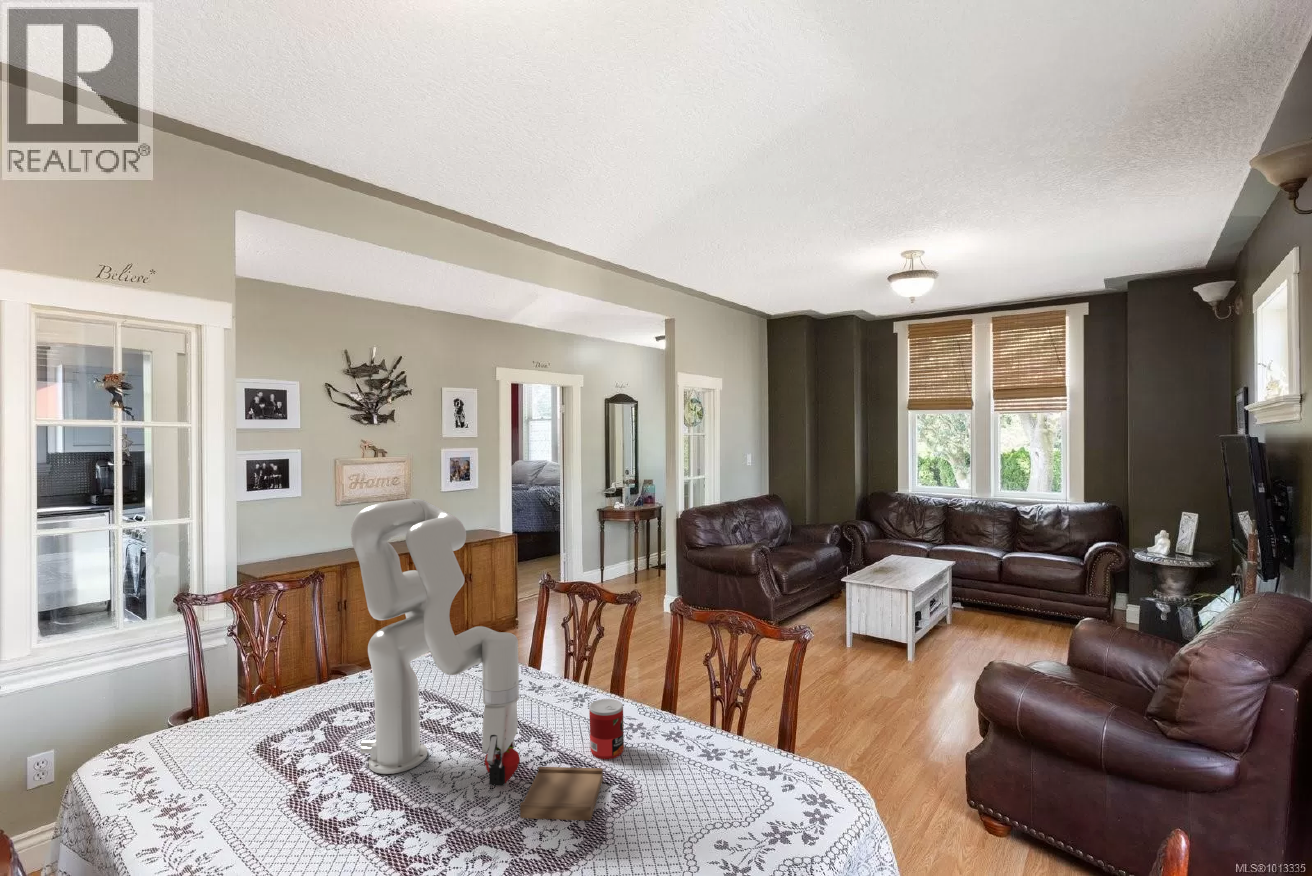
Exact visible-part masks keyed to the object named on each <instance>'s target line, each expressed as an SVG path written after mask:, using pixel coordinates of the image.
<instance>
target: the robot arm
mask: <svg viewBox="0 0 1312 876" xmlns="http://www.w3.org/2000/svg"><path fill="white" fill-rule="evenodd" d="M400 537H405V544H406V547H407V550H408V552H409V554H410V556H411V560H412V562H413V564H414V567H415V569H416V570H415V569H414V570H410V569H409V570H406V571H403V570H402V567H401V566H402V565H401V559H400V556H399V554H398V552H397V551H396V549H395V547H393V545H392V544H391V543H389V540H391V539H396V538H400ZM466 539H467V530H466V528H465V526H464V524H463V523H462V522H461V520H459V519H458V518H457V517H456V516H455V515H453V514H451V513H449V512H448V511H446V510H444V509H442V508H441V507H439V506H436V505H434V504H432V503H431V502H429V501H427V500H424V499H422V498H421V499H420V498H405V499H400V500H393V501H384V502H379V503H376V504H371V505H369V506H367V507H364V508H363V509H361V510H360V511H359V512H358V513H357V514H356V515H355V517H354V519H353V521H352V523H351V527H350V540H351V544H352V546H353V549H354V551H355V555H356V556H357V557H356V558H357V560H358V563H359V568H360V573H361V579H362V580H361V581H362V585H363V590H364V595H365V600H366V605H367V610H368V613H369V614H370V616H371V617H372V618H373V619H374V620H377V621H386V620H391V619H394V618H396V617H399V616H402V615H405V619H403V620H399V621H397V622H394V623H391V624H388V625H386V626H384V627H382V628H381V629H378V630H377V631H376V632H375V633H373V635H372V636H371V638H370V639H369V641H368V645H367V655H368V659H369V663H370V667H371V670H372V671H371V672H372V681H373V697H374V699H373V700H374V701H373V702H374V726H375V727H374V732H375V739H362V741H361V742H360V743H361V744H360V754H370V755H371V756H370V757H369V759H368V768H369V769H370V771H372V772H374V773H376V774H382V775H390V774H391V775H392V774H397V773H398V774H399V773H403V772H407V771H409V770H411V769H413V768H416V767H417V766H419V765H420V764H421V763H423V762H424V761H425V760H426V758H427V756H428V748H427V746H426V745H425V744H424V743H421V727H420V698H419V697H420V696H419V693H420V689H419V679H418V676H417V674H416V672H415V671H414V669H413V668H412V666H411V662H413V660H416V659H417V658H420V657H422V656H424V655H427V654H428V653H430V655H431V657H432V659H433V661H434V664H436V666H437V668H438V669H439V670H440V671H441V672H442V673H443V674H445V675H448V676H456V675H460V674H461V673H462V674H463V672H466V671H468V670H469V669H471V668H473V667H474V666H477V665H479V664H481V665H482V667H481V668H482V669H481V670H482V672H481V673H482V704H484V708H483V717H482V734H481V735H482V736H481V738H482V741H481V742H482V743H481V744H482V745H481V748H482V749H481V750H482V753H483V754H486V755H487V754H488V755H487V762H488V763H489V772H488V774H489V781H488V782H489V783H488V784H489V785H490V786H495V787H496V786H497V787H498V786H499V787H503V786H505V785H506V784H505V766H503V761H504V753H505V752H506V751H507V749H508V748H509V747H514V748H512V749H514V750H515V751H516V749H515V746H516V742H515V738H516V736H517V733H518V723H519V721H518V705H517V702H518V701H519V700H520V683H519V682H520V680H519V679H520V677H519V674H520V673H519V669H520V668H519V640H518V638H517V636H516V635H515V634H513V633H512V632H506V631H504V632H499V631H496V630H493V629H492V628H489V627H486V626H480V625H479V626H474V627H472V628H470V629H467V630H465V631H463V632H460V633H458V634H456V635H455V633H454V631H453V630H454V629H453V627H452V624H451V620H450V613H451V612H450V611H451V606H452V603H453V601H454V599H455V598H456V597H455V596H456V595H457V594H458V592H459V591H460V590H461V588H462V587H463V586H464V584H465V580H466V579H465V576H464V573H463V572H462V569H461V567H460V565H459V561H458V560H457V557H456V555H455V553H454V551H458V550H460V549H461V548H462V547H463V546H464V545H465V543H466V541H467V540H466ZM510 744H511V745H510ZM497 748H499V749H501V751H496V749H497ZM495 755H500V760H498V758H496V757H495Z"/></svg>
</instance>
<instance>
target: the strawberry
mask: <svg viewBox="0 0 1312 876" xmlns="http://www.w3.org/2000/svg"><path fill="white" fill-rule="evenodd" d="M510 745H511V744H510ZM512 748H514V749H515V747H509V748H508V749H507V751H506V752H505V753H504V761H503V766H505V784H504V785H506V784H507V782H508V781H509V780H510V779H511V778H512V777H513V775H514V774H515V773H516V772H517V770H518V767H519V764H520V760H521V759H520V758H521V757H520V754H519V752H518V751H516V749H515V750H514V749H512ZM496 751H501V749H499V748H497V749H496ZM487 755H488V753H486V755H485V758H484V766H485V768H486V771H487V772H488V773H489V763H488V762H487ZM495 757H496V758H498V760H500V755H495Z"/></svg>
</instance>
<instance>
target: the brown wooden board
mask: <svg viewBox="0 0 1312 876" xmlns="http://www.w3.org/2000/svg"><path fill="white" fill-rule="evenodd" d="M603 769H604V768H603V767H602V768H601V767H599V768H598V767H597V768H596V767H566V766H564V767H563V766H562V767H561V766H539V767H538V768H537V773H536V775H535V777H534V780H533V781H532V784H531V785H530V787H529V790H528V791H527V793H526V796H525V798H524V800H523V801H521V802H520V805H519V807H520V808H519V811H520V812H519V816H520V819H533V820H534V819H535V820H536V819H537V820H538V819H540V820H562V821H563V820H565V821H566V820H567V821H592V818H593V814H594V811H595V808H596V805H597V801H598V797H599V795H600V791H601V788H602V784H603V781H604V774H603V773H604V772H603V771H604V770H603Z"/></svg>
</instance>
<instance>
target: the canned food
mask: <svg viewBox="0 0 1312 876" xmlns="http://www.w3.org/2000/svg"><path fill="white" fill-rule="evenodd" d="M588 709H589V744H590V745H589V747H590V753H591V755H592V756H593V757H595V758H596V759H600V760H613V759H616V758H618V757H621V755H622V754H624V753H623V752H624V748H625V735H624V732H625V731H624V704H623V703H622V702H621V701H620V700H617V699H613V698H601V699H597V700H595V701H593V702H591V703H590V704H589V708H588Z"/></svg>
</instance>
